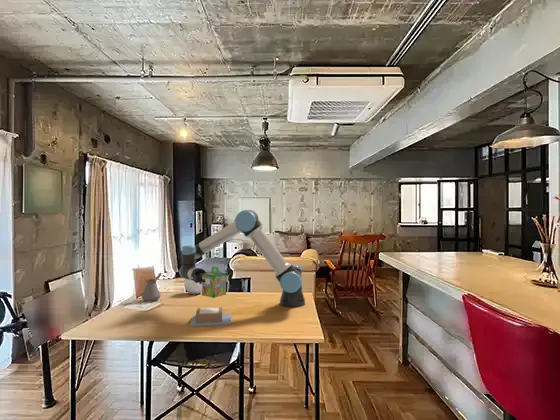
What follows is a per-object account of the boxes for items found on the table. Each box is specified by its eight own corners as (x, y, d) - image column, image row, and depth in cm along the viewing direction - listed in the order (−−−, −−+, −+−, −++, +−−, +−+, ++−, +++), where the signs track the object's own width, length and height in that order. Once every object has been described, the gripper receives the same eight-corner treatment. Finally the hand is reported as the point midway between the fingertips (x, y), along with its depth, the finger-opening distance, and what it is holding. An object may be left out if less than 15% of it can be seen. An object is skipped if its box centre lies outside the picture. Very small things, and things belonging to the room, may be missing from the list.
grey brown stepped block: (230, 315, 213) (230, 305, 213) (231, 324, 197) (231, 313, 197) (192, 317, 210) (192, 307, 210) (190, 326, 194) (190, 315, 194)
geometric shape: (200, 300, 271) (213, 281, 274) (192, 296, 257) (205, 277, 260) (185, 288, 276) (198, 270, 279) (176, 284, 262) (190, 266, 265)
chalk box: (201, 295, 206) (201, 267, 205) (214, 292, 213) (214, 265, 213) (213, 298, 200) (213, 269, 200) (226, 294, 207) (226, 266, 207)
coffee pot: (156, 302, 243) (155, 278, 243) (138, 302, 245) (137, 278, 244) (169, 295, 264) (169, 272, 264) (153, 294, 266) (153, 272, 266)
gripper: (214, 279, 227) (236, 284, 211) (178, 284, 213) (198, 290, 196) (214, 266, 227) (236, 270, 211) (178, 270, 212) (198, 275, 196)
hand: (218, 280), depth 203 cm, fingers closed on chalk box, 10 cm apart
